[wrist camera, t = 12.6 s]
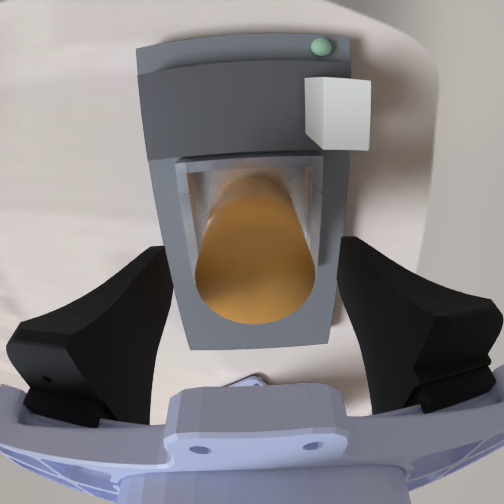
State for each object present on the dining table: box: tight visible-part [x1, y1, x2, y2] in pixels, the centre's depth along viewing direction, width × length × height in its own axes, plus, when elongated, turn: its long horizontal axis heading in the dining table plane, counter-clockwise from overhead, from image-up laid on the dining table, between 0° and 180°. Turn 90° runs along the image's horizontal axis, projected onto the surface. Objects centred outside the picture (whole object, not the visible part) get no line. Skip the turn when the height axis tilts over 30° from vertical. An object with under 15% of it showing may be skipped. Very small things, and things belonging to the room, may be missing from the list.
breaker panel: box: [136, 33, 351, 350], centre depth 16 cm, size 20×10×3 cm, turn 3°
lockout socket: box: [175, 151, 323, 284], centre depth 16 cm, size 7×7×1 cm
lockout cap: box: [195, 177, 315, 324], centre depth 14 cm, size 4×4×6 cm
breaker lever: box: [304, 77, 371, 151], centre depth 10 cm, size 2×2×3 cm
